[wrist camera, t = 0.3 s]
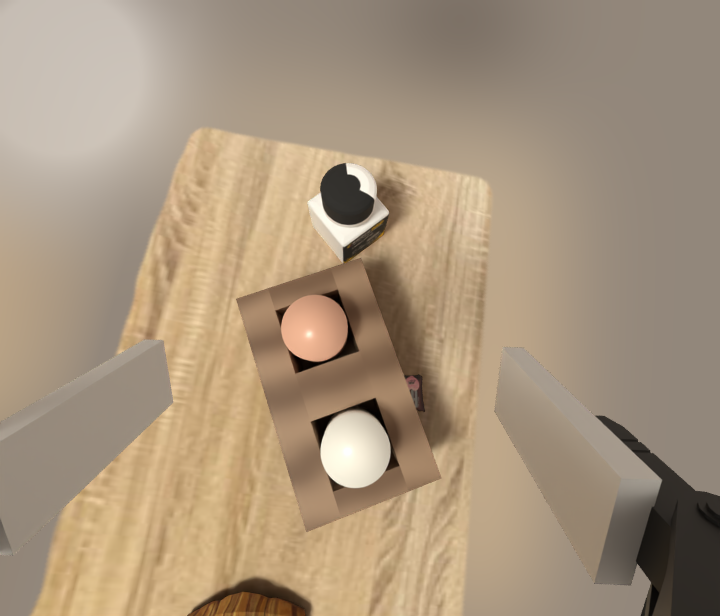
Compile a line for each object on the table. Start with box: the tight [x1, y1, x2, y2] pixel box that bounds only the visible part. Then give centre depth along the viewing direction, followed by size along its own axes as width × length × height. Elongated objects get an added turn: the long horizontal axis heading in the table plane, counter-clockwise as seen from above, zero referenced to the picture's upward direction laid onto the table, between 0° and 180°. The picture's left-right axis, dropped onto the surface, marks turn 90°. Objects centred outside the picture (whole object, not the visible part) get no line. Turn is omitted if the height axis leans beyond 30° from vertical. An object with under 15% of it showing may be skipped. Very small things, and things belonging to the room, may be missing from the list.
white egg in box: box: [321, 405, 391, 488], centre depth 36 cm, size 6×6×8 cm
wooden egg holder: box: [236, 258, 441, 532], centre depth 40 cm, size 24×14×9 cm, turn 19°
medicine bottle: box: [308, 163, 389, 263], centre depth 42 cm, size 7×7×12 cm
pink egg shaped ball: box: [281, 295, 348, 362], centre depth 38 cm, size 6×6×8 cm
